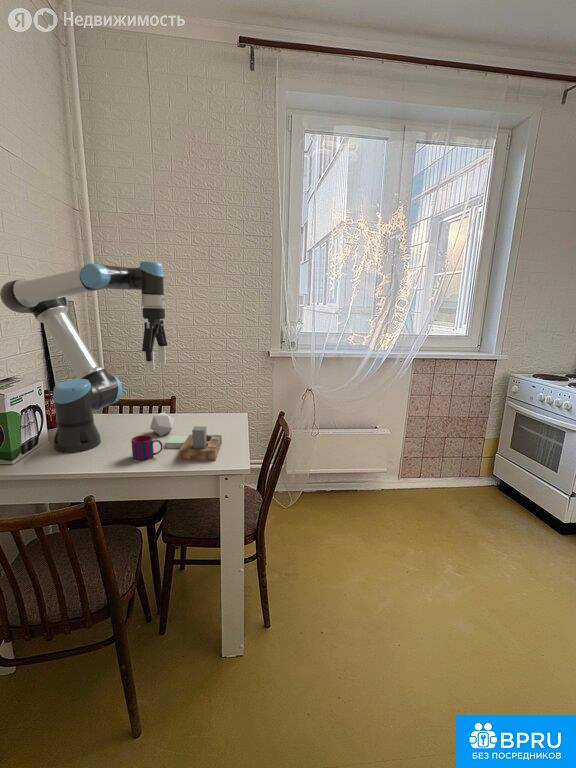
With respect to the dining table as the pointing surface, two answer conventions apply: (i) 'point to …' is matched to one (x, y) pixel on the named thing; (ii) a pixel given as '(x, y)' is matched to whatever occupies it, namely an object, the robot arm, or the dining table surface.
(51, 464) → the dining table surface
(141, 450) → the mug
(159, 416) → the die
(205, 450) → the socket block
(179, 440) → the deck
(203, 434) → the plug
